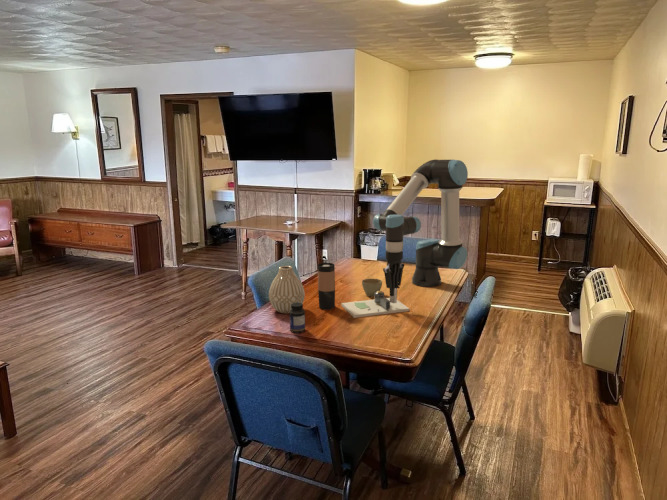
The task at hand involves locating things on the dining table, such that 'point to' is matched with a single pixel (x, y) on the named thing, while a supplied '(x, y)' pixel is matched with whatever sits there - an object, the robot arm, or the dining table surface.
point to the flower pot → (371, 286)
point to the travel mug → (326, 286)
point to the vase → (286, 290)
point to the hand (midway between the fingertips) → (393, 302)
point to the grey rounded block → (381, 299)
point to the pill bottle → (297, 318)
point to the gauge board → (372, 308)
